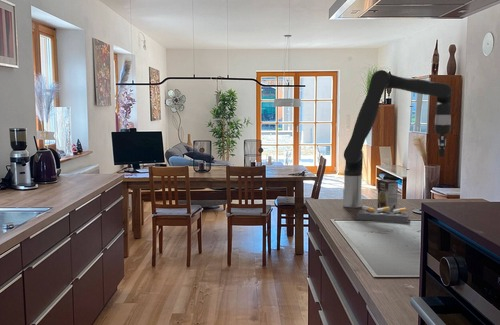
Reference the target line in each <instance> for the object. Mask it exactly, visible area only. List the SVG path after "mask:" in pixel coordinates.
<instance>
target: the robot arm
mask: <svg viewBox="0 0 500 325" xmlns="http://www.w3.org/2000/svg"><path fill="white" fill-rule="evenodd" d="M368 86H369V87H368V91H367V93H366V96H365V97H364V100H363V103H362V104H361V107H360V109H359V112H358V114H357V116H356V120H355V124H354V126H353V129H352V134H351V137H350V139H349V142H348V143H347V145H346V147H345V149H344V150H343V151H344V152H343V158H344V160H345V166H344V174H343V175H344V180H343V181H344V182H343V191H342V193H343V194H342V195H343V196H342V207H345V208H353V209H354V208H356V209H357V208H362V180H363V179H362V174H363V173H362V172H363V163H364V162H363V160H364V159H363V157H364V155H363V154H364V153H363V147H364V143H365V141H366V139H367V138H368V136H369V134H370V132H371V131H372V128H373V127H374V124H375V121H376V119H377V116H378V112H379V108H380V102H381V98H382V96H383V94H384V91H385V89H397V90H402V91H406V92H410V93H415V94H418V95H419V94H420V95H425V96H426V95H427V96H428V95H429V96H431V97H432V96H433V97H436V105H435V117H434V133H435V134H439V136H438V137H437V143H438V149H439V151H438V155H439V157H440V158H442V157H445V149H446V145H447V136H445V135H447V134H451V132H452V131H451V128H452V124H451V123H452V118H451V117H452V116H451V115H452V113H451V112H452V105H451V102H452V92H453V90H452V87H451V85H449V84H447V83H444V82H443V83H442V82H435V81H429V80H424V79H419V78H410V77H401V76H397V75H394V74H391V73H388V71H387V70H383V69H378V70H376V71H375V72H373V74H372V75H371V79H370V83H369V85H368Z"/></svg>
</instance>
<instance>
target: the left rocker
mask: <svg viewBox="0 0 500 325" xmlns="http://www.w3.org/2000/svg"><path fill="white" fill-rule="evenodd" d="M361 209H362V210H366V211H372V212H373V211H375V208H374V207H371V206H368V205H365V204H363V205H361Z"/></svg>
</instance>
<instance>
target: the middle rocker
mask: <svg viewBox="0 0 500 325" xmlns="http://www.w3.org/2000/svg"><path fill="white" fill-rule="evenodd" d="M389 209H390V208H389V207H384V208H378V207H377V209H376V211H377V212H380V211H382V212H385V210H389Z"/></svg>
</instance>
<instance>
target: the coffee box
mask: <svg viewBox="0 0 500 325" xmlns="http://www.w3.org/2000/svg"><path fill="white" fill-rule="evenodd" d="M398 190H399V181H395V180H393V179H392V180H391V179H378V180H377V209H378V208H384V207H389V208H390V209H389V210H385V212H393V210H394V209H398V197H399V196H398V193H399V192H398Z"/></svg>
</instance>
